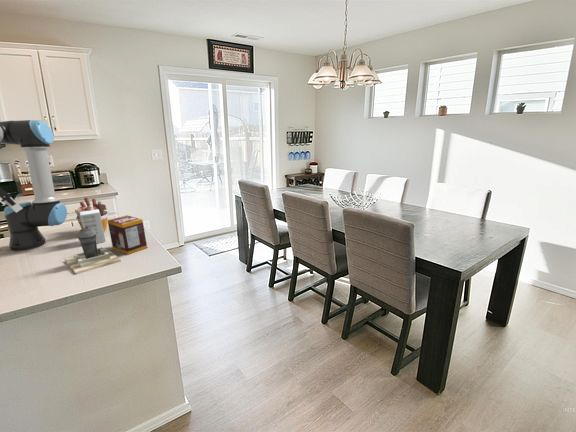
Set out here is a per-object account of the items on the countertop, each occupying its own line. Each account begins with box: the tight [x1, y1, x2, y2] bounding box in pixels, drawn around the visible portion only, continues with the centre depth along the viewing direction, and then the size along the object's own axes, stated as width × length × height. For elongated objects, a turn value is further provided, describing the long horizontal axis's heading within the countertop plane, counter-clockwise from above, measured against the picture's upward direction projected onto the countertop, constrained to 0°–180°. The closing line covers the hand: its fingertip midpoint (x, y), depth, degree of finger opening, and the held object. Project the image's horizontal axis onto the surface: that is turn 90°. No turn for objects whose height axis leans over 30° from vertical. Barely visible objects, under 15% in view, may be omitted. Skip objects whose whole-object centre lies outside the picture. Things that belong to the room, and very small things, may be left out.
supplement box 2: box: [107, 215, 148, 255], centre depth 158 cm, size 10×15×16 cm
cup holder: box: [64, 247, 121, 275], centre depth 145 cm, size 20×18×4 cm
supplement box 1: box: [80, 209, 107, 244], centre depth 170 cm, size 10×9×17 cm
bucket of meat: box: [74, 197, 109, 232], centre depth 186 cm, size 20×16×20 cm
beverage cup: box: [77, 218, 98, 259], centre depth 143 cm, size 7×7×20 cm
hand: (13, 206), depth 132 cm, fingers open, 13 cm apart
